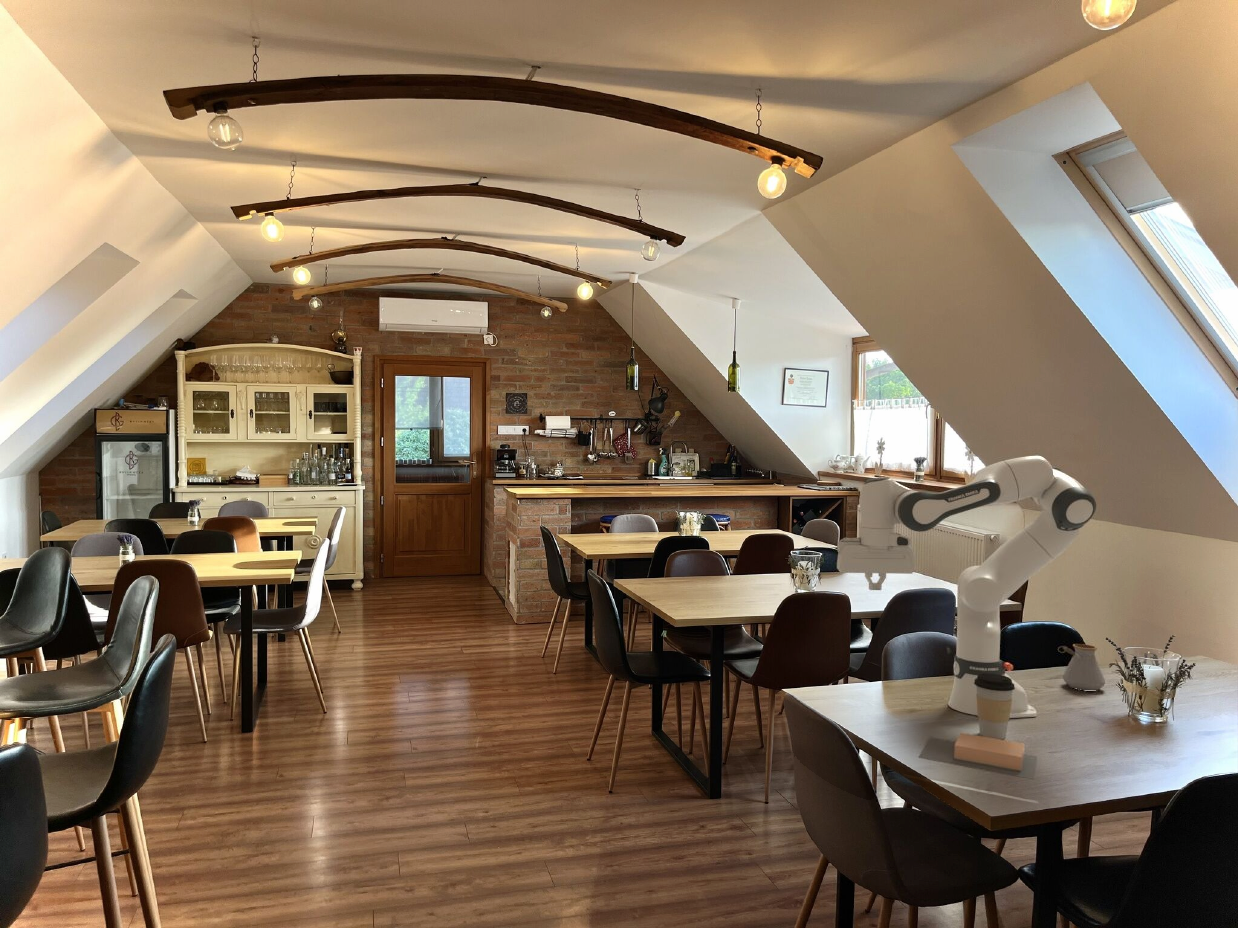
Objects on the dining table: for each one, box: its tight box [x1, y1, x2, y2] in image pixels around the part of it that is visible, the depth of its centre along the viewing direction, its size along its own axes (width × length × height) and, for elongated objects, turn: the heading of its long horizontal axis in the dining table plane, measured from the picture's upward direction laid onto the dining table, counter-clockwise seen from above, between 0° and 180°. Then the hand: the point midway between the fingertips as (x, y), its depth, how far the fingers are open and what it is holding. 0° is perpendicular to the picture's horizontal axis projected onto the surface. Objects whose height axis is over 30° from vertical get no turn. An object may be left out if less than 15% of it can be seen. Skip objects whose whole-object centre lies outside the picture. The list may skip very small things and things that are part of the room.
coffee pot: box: [1057, 643, 1106, 690], centre depth 259 cm, size 21×12×15 cm, turn 128°
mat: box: [918, 736, 1038, 780], centre depth 200 cm, size 24×16×1 cm, turn 61°
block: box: [954, 732, 1026, 771], centre depth 199 cm, size 3×10×14 cm
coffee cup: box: [974, 673, 1015, 740], centre depth 216 cm, size 9×9×15 cm
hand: (875, 589), depth 229 cm, fingers closed
